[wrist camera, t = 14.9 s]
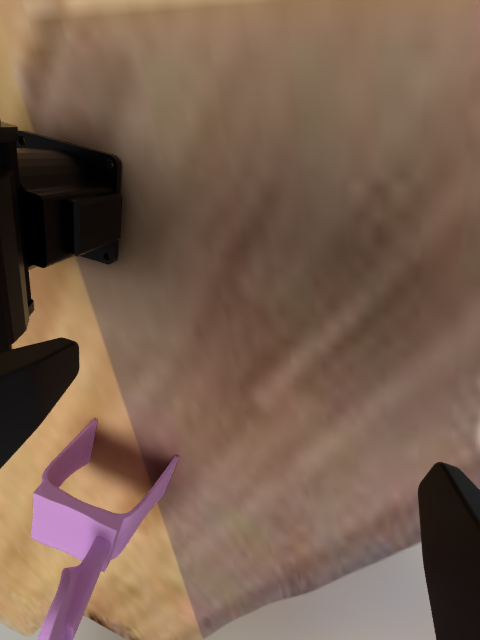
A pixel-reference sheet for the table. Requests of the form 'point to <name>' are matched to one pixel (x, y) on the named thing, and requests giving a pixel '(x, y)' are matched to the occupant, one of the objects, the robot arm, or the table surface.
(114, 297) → the table surface
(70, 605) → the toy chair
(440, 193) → the table surface
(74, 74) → the table surface
